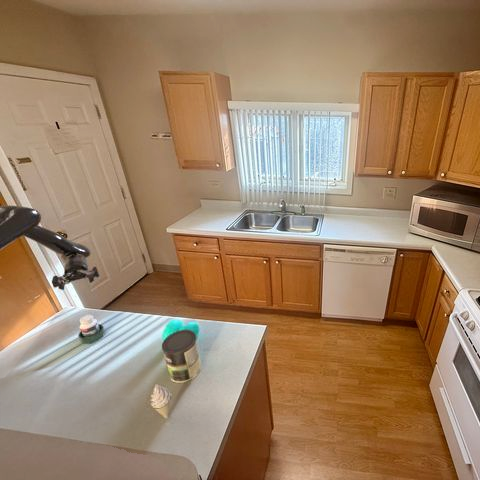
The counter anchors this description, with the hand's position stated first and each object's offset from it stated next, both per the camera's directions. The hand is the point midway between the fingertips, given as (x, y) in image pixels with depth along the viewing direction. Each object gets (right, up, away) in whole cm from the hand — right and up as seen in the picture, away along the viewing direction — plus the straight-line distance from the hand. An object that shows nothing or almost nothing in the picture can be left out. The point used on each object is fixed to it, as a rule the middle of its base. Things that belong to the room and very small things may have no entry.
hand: (76, 284), depth 102 cm
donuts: (+43, -24, 0) cm, 50 cm away
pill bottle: (+6, -21, 0) cm, 22 cm away
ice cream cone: (+53, -36, -26) cm, 69 cm away
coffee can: (+50, -29, -11) cm, 59 cm away
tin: (+6, -21, 0) cm, 22 cm away
